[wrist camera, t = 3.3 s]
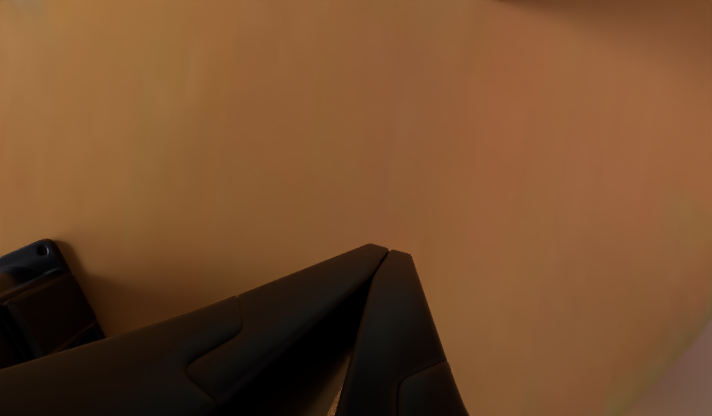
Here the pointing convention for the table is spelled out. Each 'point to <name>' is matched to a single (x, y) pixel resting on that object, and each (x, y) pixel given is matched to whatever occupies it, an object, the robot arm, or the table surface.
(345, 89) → the table surface
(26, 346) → the robot arm
